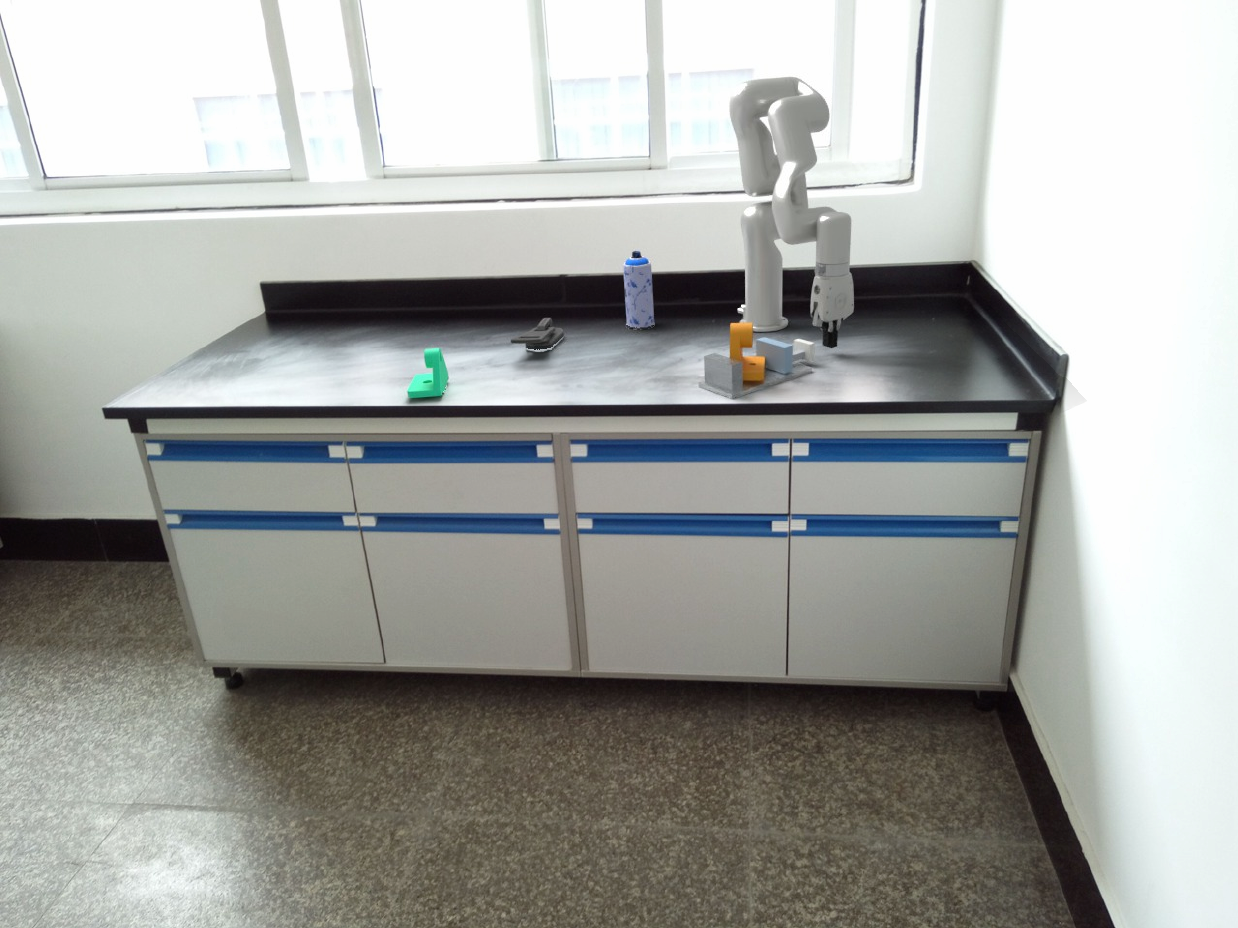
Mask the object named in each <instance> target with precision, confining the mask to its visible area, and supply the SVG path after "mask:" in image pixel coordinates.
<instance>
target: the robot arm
mask: <svg viewBox="0 0 1238 928" xmlns="http://www.w3.org/2000/svg"><path fill="white" fill-rule="evenodd" d="M729 117H730V118H729V119H730V121H731V126H732V128H733V131H734V134H735V137H736V140H737V141H736V142H737V147H738V156H739V166H740V174H741V182H742V187H743V191H744V193H745V194H746V195H747V196H749V197H752V198H758V197H759V198H761V197H768V196H769V197H770V196H772V197H771V200H770V201H769V200H768V201H763V202H761V201H760V202H757V203H754V204H751V205H749V206H747V207H746V208H745V209H744V210H743V211H742V214H741V217H740V227H741V228H740V229H741V234H742V238H743V245H744V246H743V248H744V271H745V272H744V277H745V279H744V284H745V285H744V287H745V295H744V296H745V297H744V299H745V303H744V304H741V306H740V307H739V308H737V313H738V314H741V315H742V318H741V320H739V323H753V332H757V333H758V332H759V333H760V332H761V333H764V332H775V331H780V330H782V329H785V328H787V326H788V325H789V320H788V318H786V317H784V316H783V256H782V253H781V251H780V249H779V248H778V246H777V244H776V243H775V241H777V240H780V239H781V241H783V242H784V243H785V244H787V245H794V246H795V245H802V244H807V243H814V242H816V243H815V245H816V246H815V268H814V271H813V272H814V275H815V276H814V278H813V283H812V287H811V294H810V305H809V307H810V317H811V318H812V326H814V327H817V328H820V330H821V331H822V347H826V348H829V349H833V348H837V347H838V336H839V335H838V333H839V331H840V330H841V329H840V328H841V325H842V323H843V321H844V320H845V319H847V318H848V317H849V316H850V315H852V314H853V313H854V309H855V304H854V303H855V302H854V301H855V299H854V298H855V295H854V292H855V291H854V280H853V275H852V272H850V266H851V265H850V264H851V260H850V259H851V245H852V243H851V241H852V217H851V215H850V214H848V213H847V212H843V211H837V210H835V209H834V208H832V207H830V206H818V207H817V206H816V207H809V200H808V188H807V177H806V173H807V172H809V171H811V170H812V168H814V167H815V166H816V164H817V162H818V157H817V152H816V149H815V145H814V141H813V138H812V134H813V133H819V132H822V131H824V130H825V129H826V128H827V126H828V125H829V121H830V109H829V105H828V103H827V101H826V100H825V98H824V97H823V96H822V94H821V93H820V92H818V90H816V89H815V88H813V87H812V86H810V85H809V84H808V83H807V82H806V81H803V79H801V78H800V77H799V78H798V77H796V76H783V77H782V76H781V77H771V78H757V79H751V80H748V81H744V82H742V83H739V84H738V85H736V87H735V88H734V89H733V91H732V92H731V95H730V99H729ZM764 117H767V120H768V124H769V128H768V126H767V125H766V123H764V122H763V121H762V119H761V118H764ZM774 148H775V149H774ZM775 151H776V153H775Z"/></svg>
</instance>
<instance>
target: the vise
mask: <svg viewBox="0 0 1238 928" xmlns="http://www.w3.org/2000/svg"><path fill="white" fill-rule="evenodd" d="M703 359H704V360H703V367H704V380H701V381H699V382H698V388H701V387H702V389H704V390H706V391H709V390H710V392H712V393H715V394H717V393H718V395H720V394H721V396H723V395H724V397H725V396H727V397H726V398H728V397H730V398H734V399H736V398H735V397H737V398H739V397H742V396H745V395H748V394H751V393H753V392H757V391H761V390H763V389H766V388H769V387H771V386H774V385H777V384H780V383H783V382H786V381H789V380H793V379H795V378H798V377H801V376H804V375H806V374H810V373H812V372H813V367H811V366H807V365H804V364H800V363H798V362H796V361H794V362H793V368H792V372H789V373H786V374H783V373H780V372H777V371H773V370H770V369H767V368H765V374H764V380H743V362H741V361H738V360H734V359H731V358H730V357H729V356H725V355H722V354H718V353H716V352H713V353H711V354H706V355H703ZM730 398H729V399H730Z"/></svg>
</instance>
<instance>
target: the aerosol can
mask: <svg viewBox="0 0 1238 928" xmlns="http://www.w3.org/2000/svg"><path fill="white" fill-rule="evenodd" d="M622 267H623V268H622V270H623V282H624V298H625V299H624V302H625V315H626V324H625V326H626V325H628V326H630V327H635V328H636V327H637V328H640V327H648V326H651V325H654V326H655V325H656V323H655V318H654V317H655V316H654V315H655V314H654V313H655V312H654V296H653V295H654V294H653V277H652V275H653V274H652V264H651V261H650V260H649V259H648V258H646V257H645V256H643V255H642V253H641V251H639V250H634V251H633V250H632V252H631V256H630V257H628V258H627V259H626V260H625V261H624V263H623V266H622Z"/></svg>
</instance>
